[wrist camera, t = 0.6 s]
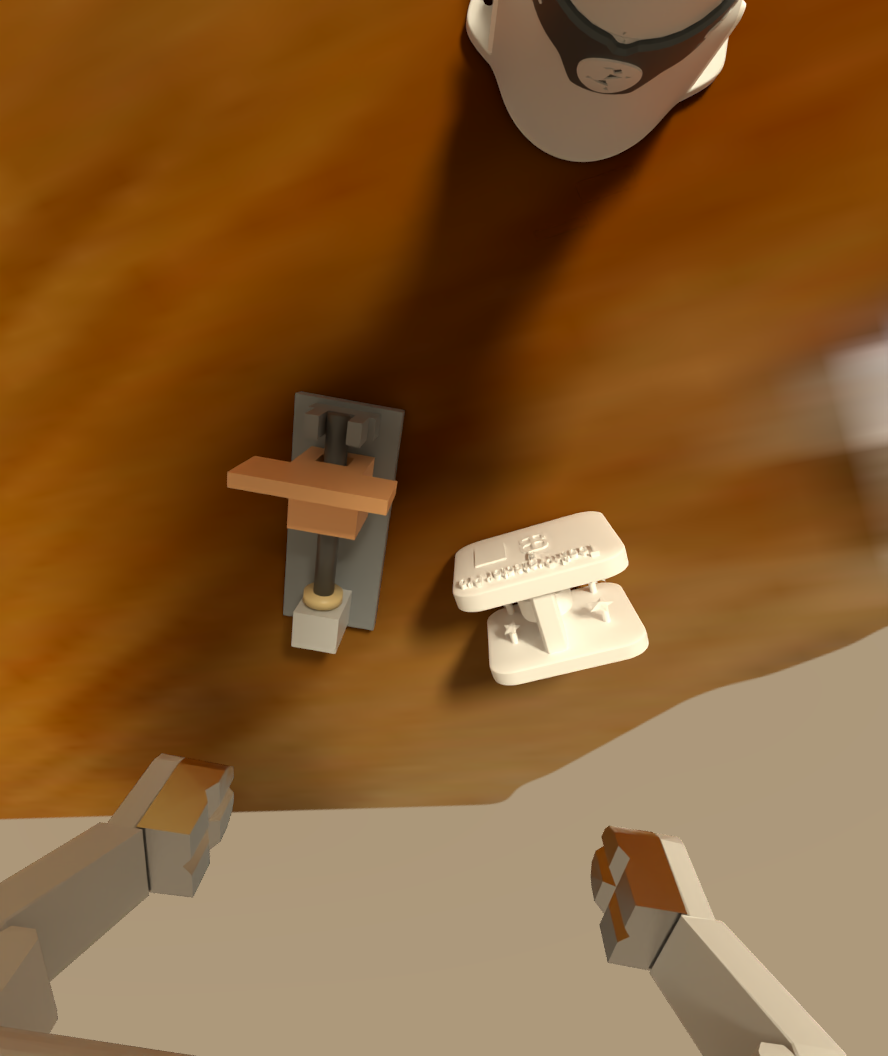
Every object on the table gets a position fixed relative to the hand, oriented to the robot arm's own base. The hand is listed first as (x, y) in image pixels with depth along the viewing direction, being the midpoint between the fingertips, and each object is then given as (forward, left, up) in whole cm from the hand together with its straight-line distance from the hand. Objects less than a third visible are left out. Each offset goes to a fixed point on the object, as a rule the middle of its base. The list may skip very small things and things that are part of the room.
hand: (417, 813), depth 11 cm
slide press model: (+10, -10, -40) cm, 43 cm away
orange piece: (+6, -10, -38) cm, 40 cm away
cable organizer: (+12, +11, -40) cm, 43 cm away
